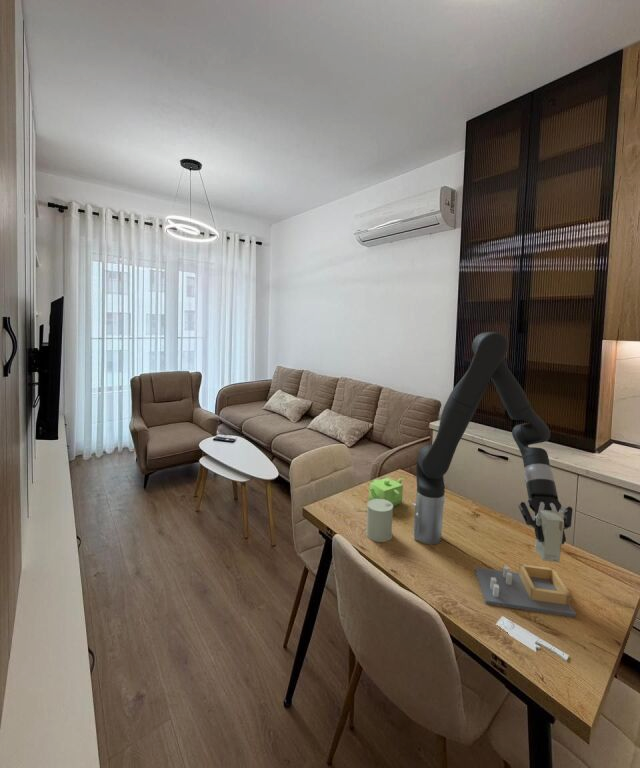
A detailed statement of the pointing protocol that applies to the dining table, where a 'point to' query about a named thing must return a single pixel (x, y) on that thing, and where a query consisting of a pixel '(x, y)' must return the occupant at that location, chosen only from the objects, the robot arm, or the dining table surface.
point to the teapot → (387, 490)
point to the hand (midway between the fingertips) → (551, 542)
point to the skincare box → (550, 536)
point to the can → (379, 520)
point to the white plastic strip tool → (527, 637)
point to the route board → (526, 589)
